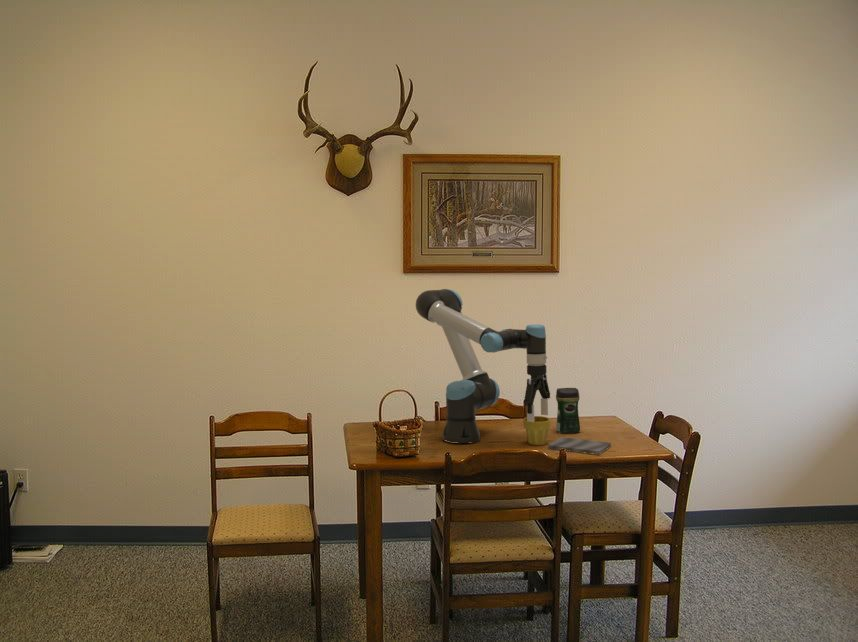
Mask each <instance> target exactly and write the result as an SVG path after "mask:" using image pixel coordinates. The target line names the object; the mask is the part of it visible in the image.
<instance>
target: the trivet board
mask: <svg viewBox="0 0 858 642" xmlns="http://www.w3.org/2000/svg"><path fill="white" fill-rule="evenodd" d="M610 446H611V447H612V442H607V441H601V440H600V441H597V440H592V439H583V438H573V437H564V436H561V437H558V438H557V439H555V440H554V441H552V442H551V443H549V444H547V450H553V451H554V450H555V451H560V449H562V448H563V449H566V450H568V451H569V450H570V451H577V452H586V453H594V454H600V453H602V452H603V451H604V452H606V451H607V450H608V449H610V448H611V447H610ZM609 447H610V448H609ZM607 448H608V449H607ZM606 449H607V450H606ZM605 450H606V451H605ZM568 451H567V452H568ZM604 452H603V453H604ZM603 453H602V454H603ZM600 455H601V454H600Z"/></svg>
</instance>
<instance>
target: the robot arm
mask: <svg viewBox="0 0 858 642" xmlns="http://www.w3.org/2000/svg"><path fill="white" fill-rule="evenodd" d="M462 309H463V299H462V297H461V296H460V294H459V293H458V292H457V291H456V290H454V289H448V288H442V289H431V290H430V289H429V290H424V291H422V292H421V293H420V294H418V296H417V298H416V300H415V311H416V312H417V314H418V315H419V316H420V317H421V318H423V319H424V320H426V321H428V322H430V323H433V324H434V323H435V324H436V325H437V326H440V327H441V328H442V330H443V333H444V336H445V337H446V340H447V342H448V345H449V348H450V349H451V351H452V355H453V357H454V358H455V363H456V364H457V366H458V369H459V371H460V373H461V376H462V379H461V380H456V381H452V382H450V383H448V384H447V386H446V388H445V389H446V390H445V401H446V403H445V404H446V422H445V426H444V429H443V432H442V440H443V439H444V440H447V441H450V442H458V443H469V442H475V443H477V442H476V441H478V442H480V441H479V440H481V432H480V430H479V427H478V423H477V421H476V420H477V419H476V411H480V410H483V409H488V408H490V407H492V406H494V405H496V403H497V402H498V401H499V397H500V394H501V393H500V392H501V391H500V386H499V384H498V383H497V381H496V380H494V379H493V378H490V376H489V374H488V372H487V371H485V370H483V369H482V367H481V364H480V361H479V359H478V357H477V355H476V353H475V350H474V348H473V346H472V343H471V341H473V342H475V343H476V344H479V345H480V347H481V348H482V349H483V351H484V352H486V353H491V354H493V353H497V352H501V351H507V350H508V351H509V350H513V349H523V350H525V349H526V364H527V365H526V374H527V375H528V376H530V378H527V379H526V388H525V392H524V393H525V394H524V399H523V405H524V406H525V405H526V417H527V422H534V416H535V405H534V402H535V398H536V395H537V392H539V394H540V416H549V399H551V392H550V387H549V383H548V380H547V379H548V377H547V365H546V364H547V359H548V356H547V349H546V347H547V343H546V342H547V335H546V326H545V325H544V324H527V325H526V326H525V329H520V328H519V329H516V328H515V329H514V328H504V329H501V331H499V330H495V329H493V328H490V327H489V326H488V325H485V324H483V323H481V322H478V321H477V320H475V319H473V318H470V317H469V316H467V315H464V314H463V313H462ZM470 340H471V341H470Z"/></svg>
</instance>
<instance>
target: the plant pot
mask: <svg viewBox="0 0 858 642" xmlns="http://www.w3.org/2000/svg"><path fill="white" fill-rule="evenodd" d="M523 427H524V429H525V431H526V432H525V433H526V436H527V439H528V440H527V441H528V444H529V445H532V446H542V445H546V444H547V439H548V433H549V429H550V428H551V418H549V417H547V416H544V415H538V416H537V415H534V422H527V416H526V417H524V418H523Z"/></svg>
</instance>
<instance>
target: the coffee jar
mask: <svg viewBox="0 0 858 642" xmlns="http://www.w3.org/2000/svg"><path fill="white" fill-rule="evenodd" d="M579 391H580V390H579V389H578V388H576V387H562V388H561V387H560V388H557V389H556V393H555V400H556V403H557V414H556V416H557V417H556V427H555V428H556V429H555V430H556V432H557V433H559V432H560V434H565V433H568V434H577V433H580V432H581V423H580V417H579V402H580V392H579Z"/></svg>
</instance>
